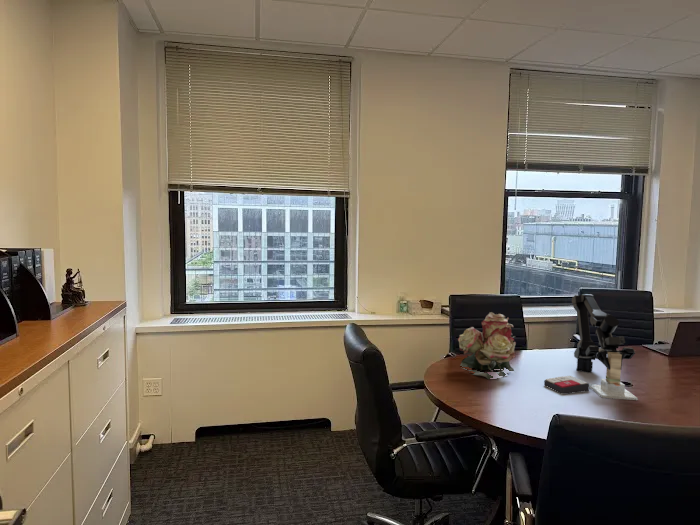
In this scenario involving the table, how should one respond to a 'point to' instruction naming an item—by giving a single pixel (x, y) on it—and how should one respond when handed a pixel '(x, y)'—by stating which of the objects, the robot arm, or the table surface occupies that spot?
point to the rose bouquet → (489, 346)
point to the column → (614, 367)
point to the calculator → (567, 384)
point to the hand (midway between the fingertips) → (615, 369)
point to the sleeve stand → (612, 390)
